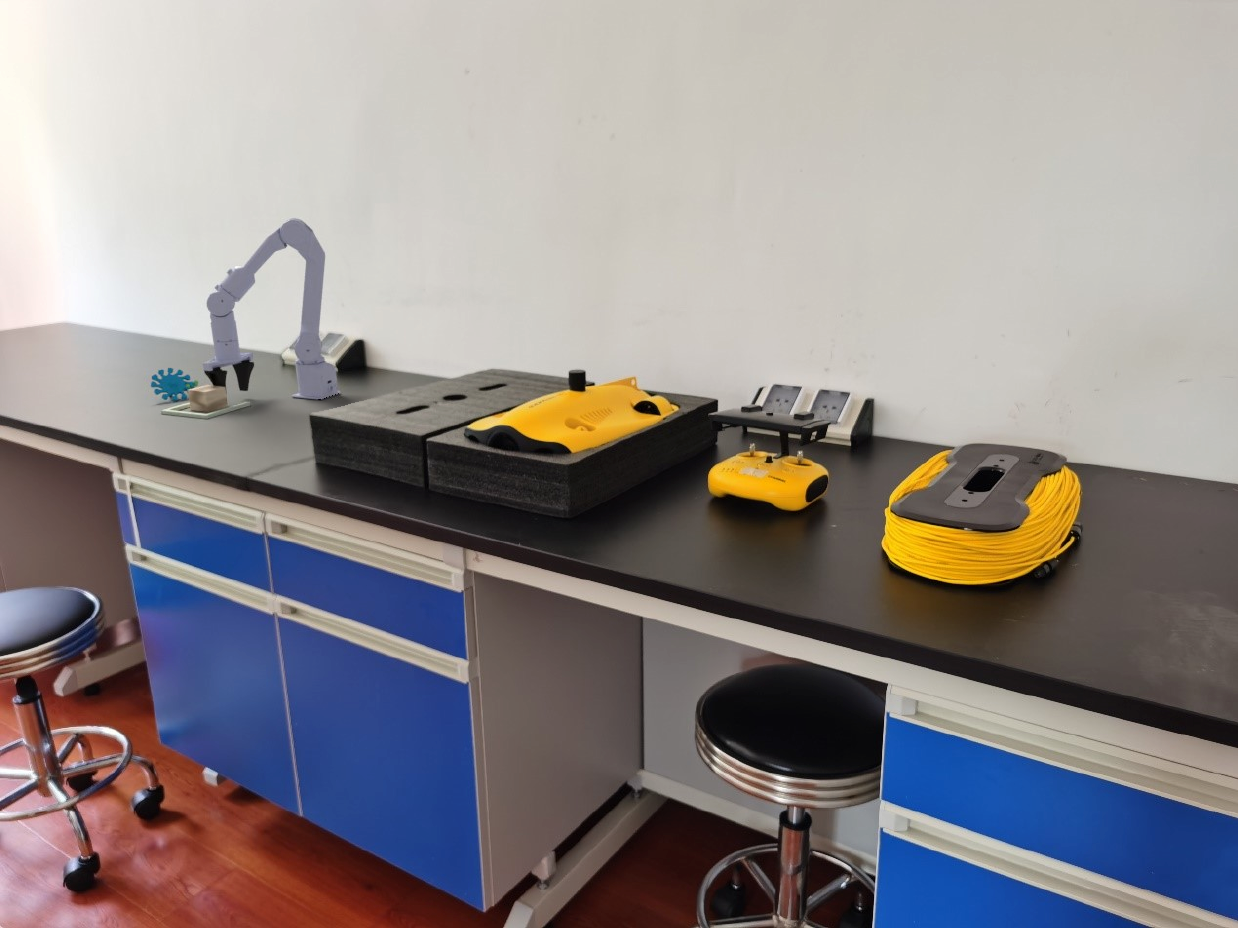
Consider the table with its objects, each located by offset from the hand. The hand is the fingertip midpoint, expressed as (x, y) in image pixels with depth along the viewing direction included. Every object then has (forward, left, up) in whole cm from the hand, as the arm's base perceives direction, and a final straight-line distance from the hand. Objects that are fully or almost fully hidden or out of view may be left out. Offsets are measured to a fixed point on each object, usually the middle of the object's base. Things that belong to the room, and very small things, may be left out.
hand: (233, 393), depth 229 cm
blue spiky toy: (+16, +3, -2) cm, 17 cm away
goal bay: (0, +9, -2) cm, 9 cm away
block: (0, +8, -2) cm, 8 cm away
